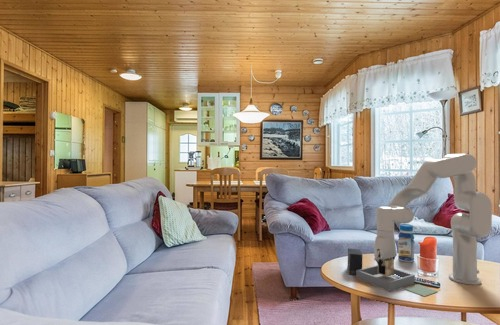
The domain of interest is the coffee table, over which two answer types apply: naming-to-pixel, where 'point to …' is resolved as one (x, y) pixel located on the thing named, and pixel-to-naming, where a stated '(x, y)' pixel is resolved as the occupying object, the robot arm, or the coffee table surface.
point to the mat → (421, 290)
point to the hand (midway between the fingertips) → (385, 271)
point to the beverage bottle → (406, 243)
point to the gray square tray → (385, 278)
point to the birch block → (388, 267)
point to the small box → (354, 261)
